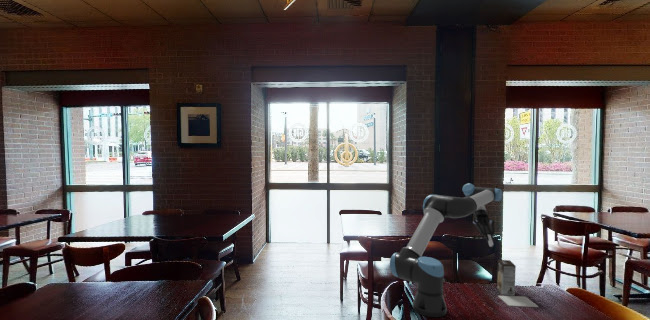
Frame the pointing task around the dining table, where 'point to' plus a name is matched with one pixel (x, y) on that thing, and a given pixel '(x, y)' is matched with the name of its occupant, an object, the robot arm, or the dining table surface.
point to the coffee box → (506, 277)
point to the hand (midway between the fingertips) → (491, 245)
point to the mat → (517, 301)
